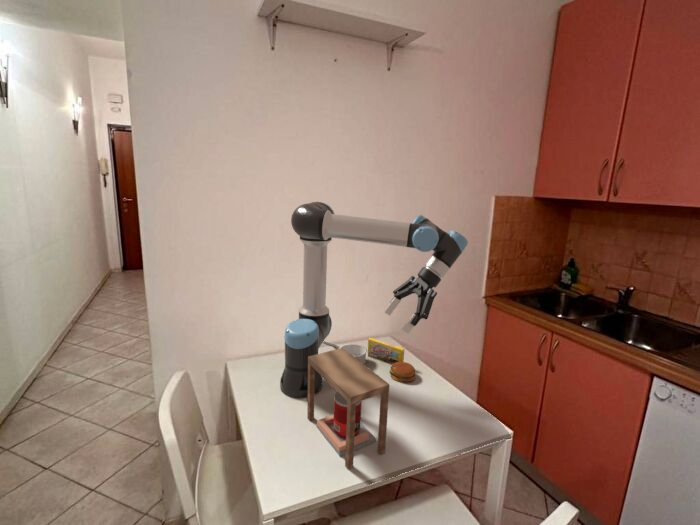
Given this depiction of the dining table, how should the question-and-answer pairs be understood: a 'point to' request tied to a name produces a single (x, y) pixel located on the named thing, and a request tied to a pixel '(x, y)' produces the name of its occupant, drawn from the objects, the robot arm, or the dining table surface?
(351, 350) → the saucepan
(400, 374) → the burger
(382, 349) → the candy box
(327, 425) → the seat
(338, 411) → the canned food
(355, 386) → the bench
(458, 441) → the dining table surface
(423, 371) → the dining table surface
